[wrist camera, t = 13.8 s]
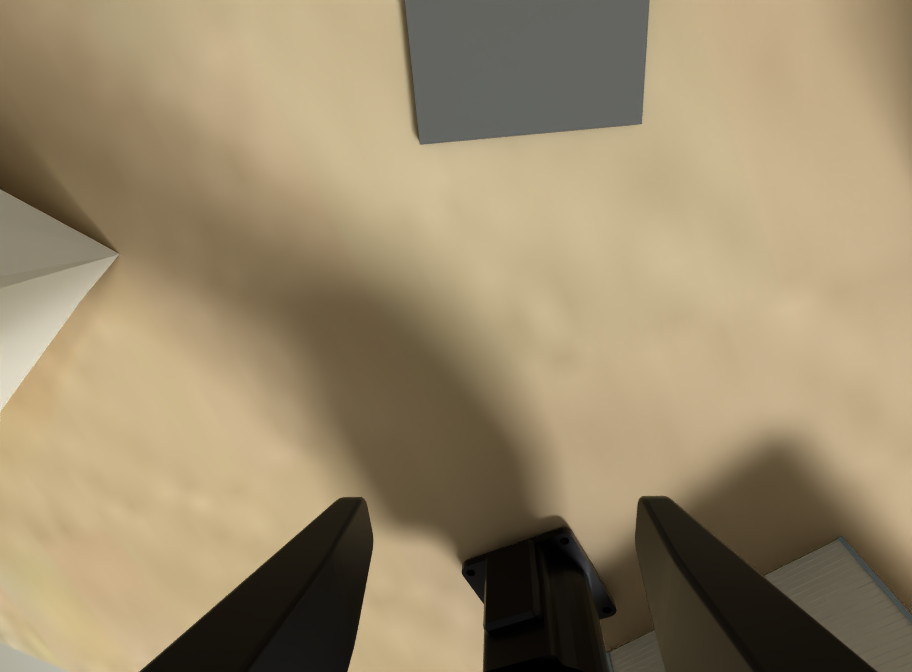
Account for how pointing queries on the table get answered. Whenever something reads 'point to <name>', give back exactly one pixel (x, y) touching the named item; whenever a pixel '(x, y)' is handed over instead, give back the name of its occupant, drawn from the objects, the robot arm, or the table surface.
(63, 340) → the table surface
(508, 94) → the charcoal mat
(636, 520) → the robot arm
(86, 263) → the folded paper
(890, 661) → the warehouse
